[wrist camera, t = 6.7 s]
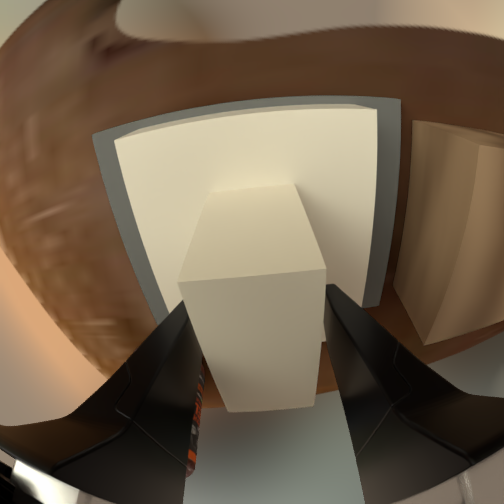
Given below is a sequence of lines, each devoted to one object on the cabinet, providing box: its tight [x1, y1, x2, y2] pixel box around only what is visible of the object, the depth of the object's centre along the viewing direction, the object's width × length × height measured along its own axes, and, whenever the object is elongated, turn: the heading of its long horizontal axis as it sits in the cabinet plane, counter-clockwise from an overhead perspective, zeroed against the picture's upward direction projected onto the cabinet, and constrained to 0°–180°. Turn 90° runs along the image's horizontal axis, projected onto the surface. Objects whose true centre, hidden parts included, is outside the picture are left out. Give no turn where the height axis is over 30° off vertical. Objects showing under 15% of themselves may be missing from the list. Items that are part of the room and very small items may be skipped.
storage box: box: [392, 120, 504, 345], centre depth 11 cm, size 8×10×5 cm
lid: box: [114, 104, 377, 412], centre depth 10 cm, size 9×11×8 cm
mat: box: [92, 95, 401, 325], centre depth 14 cm, size 14×12×1 cm
